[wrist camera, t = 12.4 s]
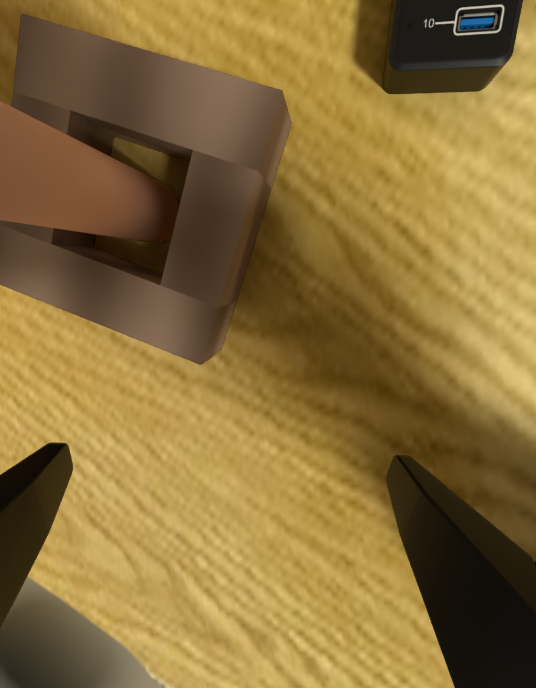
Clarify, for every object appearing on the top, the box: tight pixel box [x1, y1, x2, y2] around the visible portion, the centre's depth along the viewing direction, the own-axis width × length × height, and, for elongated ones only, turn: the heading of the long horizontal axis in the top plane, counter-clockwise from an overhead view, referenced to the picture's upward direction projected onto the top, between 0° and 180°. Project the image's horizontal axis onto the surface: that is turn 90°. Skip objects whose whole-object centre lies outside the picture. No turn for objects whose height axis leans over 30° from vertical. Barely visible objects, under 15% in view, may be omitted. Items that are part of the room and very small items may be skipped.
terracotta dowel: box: [0, 101, 179, 243], centre depth 12 cm, size 3×3×13 cm
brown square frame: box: [0, 14, 292, 365], centre depth 17 cm, size 12×12×3 cm
